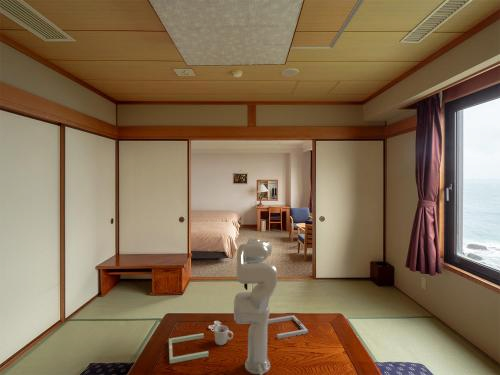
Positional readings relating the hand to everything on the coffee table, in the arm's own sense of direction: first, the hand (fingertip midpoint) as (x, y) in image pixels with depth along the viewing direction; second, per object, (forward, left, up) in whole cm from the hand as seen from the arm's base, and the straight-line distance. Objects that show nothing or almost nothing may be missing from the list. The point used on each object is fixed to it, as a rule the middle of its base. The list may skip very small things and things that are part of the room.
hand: (254, 288), depth 164 cm
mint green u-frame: (-2, +38, -28) cm, 47 cm away
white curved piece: (+17, +21, -29) cm, 39 cm away
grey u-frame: (+2, -21, -28) cm, 35 cm away
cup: (-2, +19, -28) cm, 34 cm away
